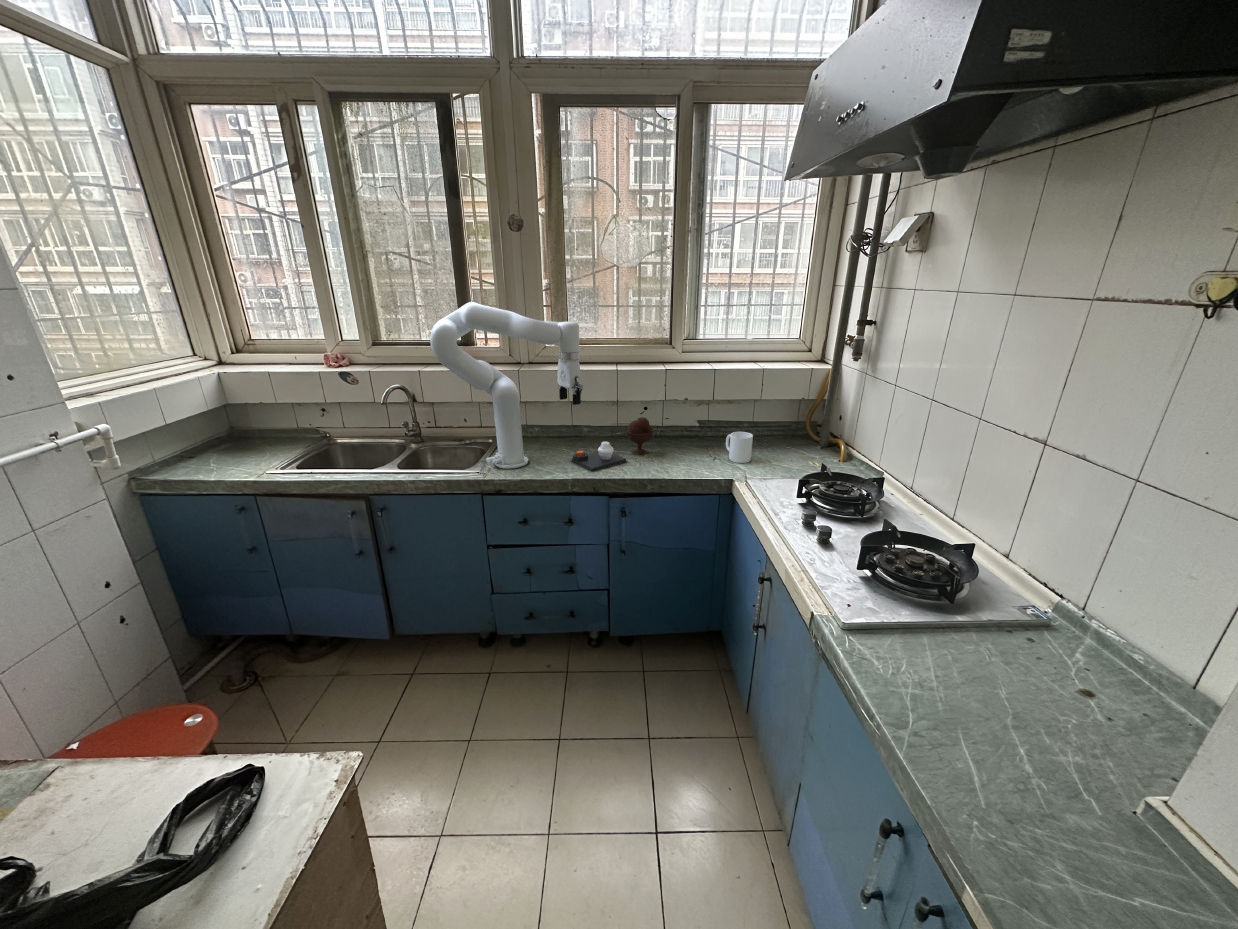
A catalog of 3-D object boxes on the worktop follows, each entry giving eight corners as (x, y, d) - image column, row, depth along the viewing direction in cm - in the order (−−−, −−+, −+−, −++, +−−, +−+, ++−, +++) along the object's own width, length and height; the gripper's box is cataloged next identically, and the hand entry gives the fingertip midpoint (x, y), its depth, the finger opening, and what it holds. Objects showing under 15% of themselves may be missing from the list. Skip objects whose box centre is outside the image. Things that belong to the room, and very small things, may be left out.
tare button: (579, 457, 190) (579, 453, 190) (575, 455, 192) (575, 451, 192) (585, 455, 192) (585, 451, 191) (581, 453, 194) (581, 449, 193)
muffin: (602, 462, 188) (601, 444, 186) (595, 457, 193) (594, 440, 191) (616, 459, 191) (616, 442, 188) (609, 454, 196) (609, 438, 193)
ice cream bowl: (653, 448, 207) (653, 413, 201) (652, 457, 196) (652, 421, 191) (627, 447, 208) (627, 413, 202) (625, 457, 197) (625, 420, 192)
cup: (739, 465, 188) (742, 439, 184) (717, 456, 197) (719, 431, 194) (755, 460, 192) (757, 435, 189) (732, 452, 202) (734, 428, 198)
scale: (591, 472, 183) (591, 464, 182) (570, 461, 193) (570, 454, 192) (626, 462, 192) (626, 454, 191) (604, 452, 203) (604, 445, 202)
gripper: (548, 354, 188) (550, 398, 194) (572, 360, 175) (573, 407, 182) (565, 352, 193) (566, 396, 199) (590, 358, 180) (590, 405, 186)
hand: (569, 401), depth 190 cm, fingers open, 9 cm apart
